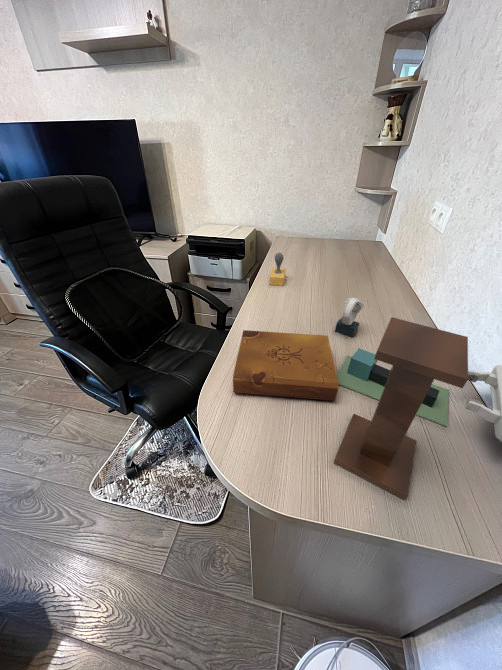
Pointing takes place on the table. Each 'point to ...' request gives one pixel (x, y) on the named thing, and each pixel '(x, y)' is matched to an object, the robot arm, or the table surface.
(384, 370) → the teal headed hammer
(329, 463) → the table surface
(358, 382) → the mat
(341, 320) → the watch
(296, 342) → the diary
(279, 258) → the rubber stamp
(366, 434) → the stand
